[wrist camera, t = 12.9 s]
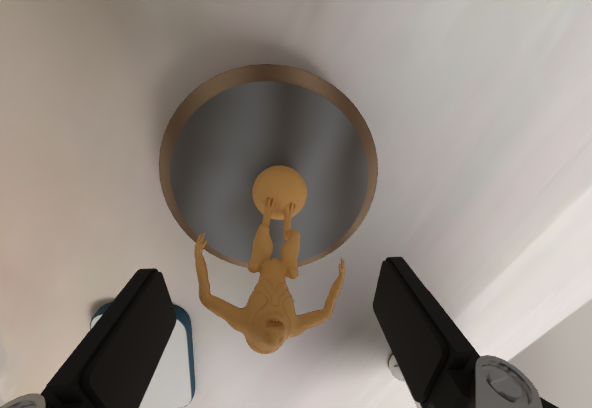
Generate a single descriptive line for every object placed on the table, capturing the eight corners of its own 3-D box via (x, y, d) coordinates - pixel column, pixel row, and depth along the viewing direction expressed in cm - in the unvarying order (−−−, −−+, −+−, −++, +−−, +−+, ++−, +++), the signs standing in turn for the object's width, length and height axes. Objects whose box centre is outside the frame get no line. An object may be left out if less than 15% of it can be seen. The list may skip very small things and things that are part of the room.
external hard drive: (197, 394, 39) (193, 408, 38) (126, 395, 38) (118, 410, 36) (192, 300, 29) (186, 314, 27) (93, 297, 28) (81, 311, 26)
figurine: (334, 173, 18) (421, 288, 7) (311, 232, 21) (352, 384, 10) (231, 145, 16) (152, 243, 6) (220, 214, 19) (149, 372, 8)
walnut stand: (377, 70, 19) (401, 65, 15) (351, 244, 27) (363, 268, 23) (152, 67, 17) (120, 60, 14) (197, 252, 25) (184, 278, 22)
